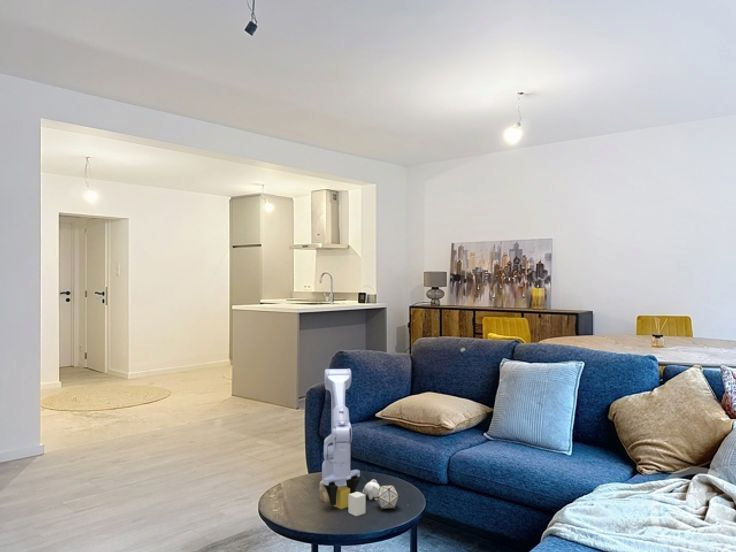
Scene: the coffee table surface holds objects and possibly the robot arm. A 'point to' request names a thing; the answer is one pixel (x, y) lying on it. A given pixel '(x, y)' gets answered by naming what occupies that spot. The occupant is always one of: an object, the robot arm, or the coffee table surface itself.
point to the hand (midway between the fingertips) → (341, 501)
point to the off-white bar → (356, 503)
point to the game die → (387, 496)
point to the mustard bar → (342, 497)
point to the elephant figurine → (371, 489)
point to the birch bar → (324, 493)
